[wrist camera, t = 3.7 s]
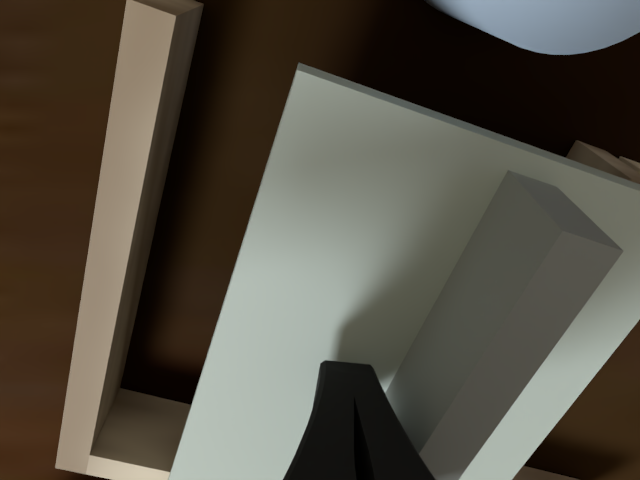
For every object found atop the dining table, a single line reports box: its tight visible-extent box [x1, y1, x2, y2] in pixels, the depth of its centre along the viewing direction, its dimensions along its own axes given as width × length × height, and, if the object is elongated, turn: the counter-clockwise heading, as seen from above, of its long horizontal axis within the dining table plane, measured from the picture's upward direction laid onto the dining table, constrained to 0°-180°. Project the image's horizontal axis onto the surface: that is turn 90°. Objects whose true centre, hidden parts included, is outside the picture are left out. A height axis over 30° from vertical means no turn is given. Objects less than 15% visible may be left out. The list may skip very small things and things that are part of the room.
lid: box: [168, 63, 640, 480], centre depth 13 cm, size 10×14×4 cm
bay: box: [55, 0, 640, 480], centre depth 17 cm, size 20×15×3 cm
